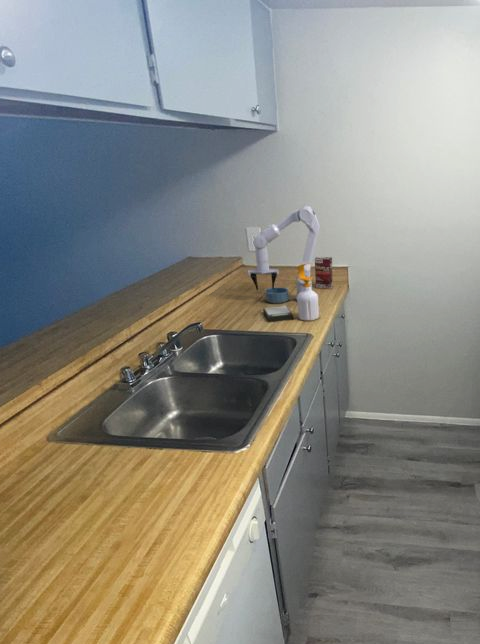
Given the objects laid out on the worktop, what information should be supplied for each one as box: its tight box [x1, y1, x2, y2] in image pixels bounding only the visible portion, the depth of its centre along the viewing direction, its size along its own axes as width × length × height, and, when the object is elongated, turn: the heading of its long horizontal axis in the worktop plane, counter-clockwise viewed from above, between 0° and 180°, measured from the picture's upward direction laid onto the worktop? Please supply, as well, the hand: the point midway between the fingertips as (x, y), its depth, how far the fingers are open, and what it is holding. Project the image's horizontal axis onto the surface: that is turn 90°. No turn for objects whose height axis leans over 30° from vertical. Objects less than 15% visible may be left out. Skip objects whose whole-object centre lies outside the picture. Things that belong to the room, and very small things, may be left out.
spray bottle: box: [296, 262, 320, 322], centre depth 207 cm, size 9×9×25 cm
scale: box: [262, 305, 294, 323], centre depth 214 cm, size 13×11×3 cm
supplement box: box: [314, 256, 334, 290], centre depth 253 cm, size 9×5×16 cm, turn 80°
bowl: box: [264, 287, 290, 304], centre depth 234 cm, size 11×11×5 cm
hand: (265, 289), depth 232 cm, fingers open, 7 cm apart
